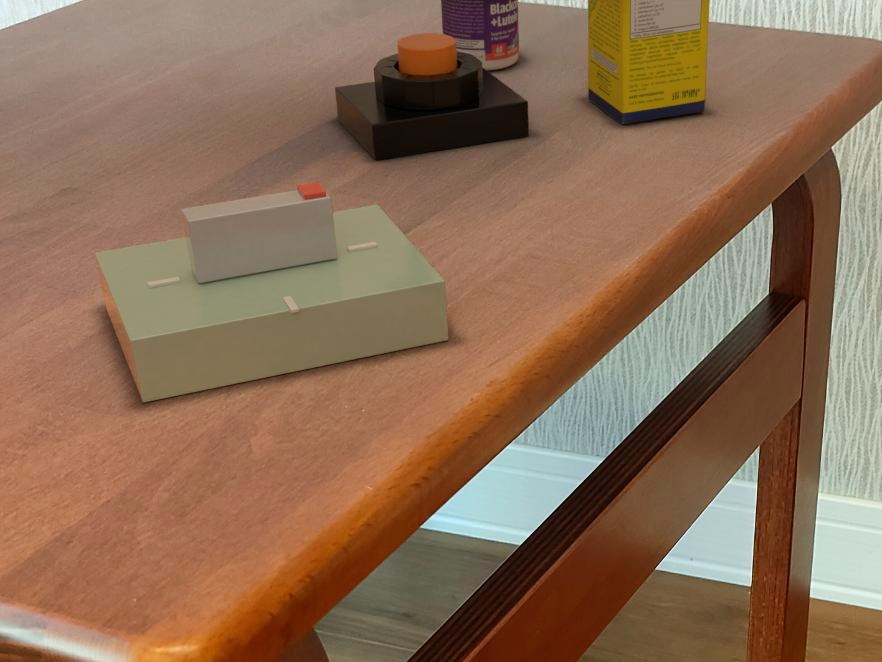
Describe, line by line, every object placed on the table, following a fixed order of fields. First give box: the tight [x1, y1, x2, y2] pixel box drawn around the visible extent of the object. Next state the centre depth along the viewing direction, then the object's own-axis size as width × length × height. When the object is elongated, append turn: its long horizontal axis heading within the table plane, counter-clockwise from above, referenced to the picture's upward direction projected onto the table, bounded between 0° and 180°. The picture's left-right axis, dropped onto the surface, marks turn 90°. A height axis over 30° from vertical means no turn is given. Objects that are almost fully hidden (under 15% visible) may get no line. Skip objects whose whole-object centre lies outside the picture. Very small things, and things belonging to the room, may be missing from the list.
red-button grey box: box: [181, 181, 338, 283], centre depth 64 cm, size 6×2×3 cm, turn 113°
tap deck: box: [94, 204, 449, 403], centre depth 65 cm, size 14×11×3 cm
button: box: [396, 32, 457, 75], centre depth 86 cm, size 4×4×2 cm
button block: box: [334, 51, 530, 161], centre depth 87 cm, size 10×8×4 cm
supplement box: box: [587, 0, 710, 125], centre depth 88 cm, size 6×6×11 cm
